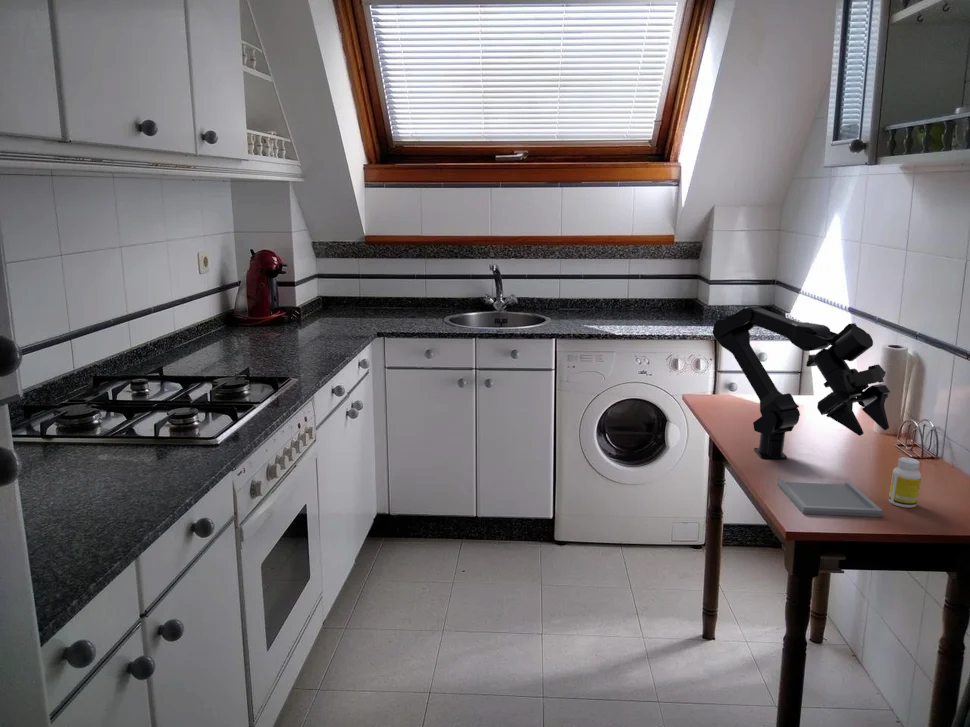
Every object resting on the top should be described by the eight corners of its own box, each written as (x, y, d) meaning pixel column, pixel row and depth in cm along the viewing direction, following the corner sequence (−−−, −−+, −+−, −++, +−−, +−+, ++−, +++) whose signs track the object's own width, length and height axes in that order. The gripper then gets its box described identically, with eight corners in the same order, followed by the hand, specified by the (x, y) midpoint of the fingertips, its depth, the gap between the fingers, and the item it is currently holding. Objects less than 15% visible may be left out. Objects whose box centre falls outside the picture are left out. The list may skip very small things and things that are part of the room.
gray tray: (777, 484, 179) (778, 479, 179) (849, 487, 179) (849, 482, 179) (802, 513, 164) (803, 507, 163) (881, 517, 163) (882, 510, 163)
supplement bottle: (922, 508, 169) (929, 464, 167) (899, 509, 168) (906, 465, 166) (905, 498, 174) (911, 455, 172) (882, 499, 173) (889, 456, 171)
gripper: (835, 356, 171) (876, 419, 164) (887, 349, 180) (928, 408, 174) (800, 383, 179) (837, 444, 172) (852, 375, 189) (889, 433, 182)
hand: (874, 431), depth 175 cm, fingers open, 9 cm apart
